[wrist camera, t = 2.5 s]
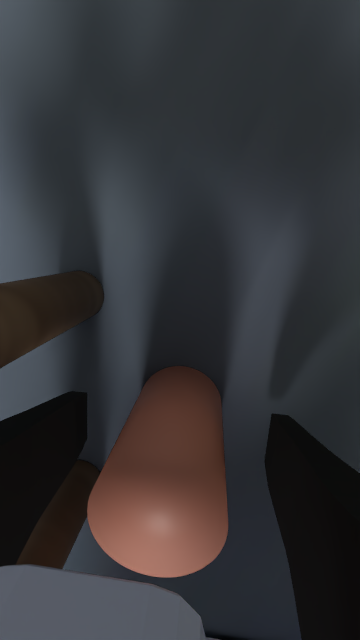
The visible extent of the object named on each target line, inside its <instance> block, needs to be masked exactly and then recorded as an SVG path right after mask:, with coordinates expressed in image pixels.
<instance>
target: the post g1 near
mask: <svg viewBox="0 0 360 640" xmlns="http://www.w3.org/2000/svg"><path fill="white" fill-rule="evenodd" d="M103 301H104V293H103V289H102V286H101V284H100V282H99V281H98V280H97V279H96V278H95V277H94V276H93V275H91V274H90V273H87V272H84V271H73V272H67V273H61V274H55V275H49V276H43V277H37V278H31V279H25V280H19V281H13V282H7V283H1V284H0V368H2V367H3V366H5V365H7V364H9V363H10V362H12V361H14V360H16V359H17V358H19V357H21V356H23V355H25V354H26V353H28V352H30V351H32V350H33V349H35V348H37V347H39V346H40V345H42V344H44V343H46V342H47V341H49V340H51V339H53V338H55V337H56V336H58V335H60V334H62V333H63V332H65V331H67V330H69V329H70V328H72V327H74V326H76V325H78V324H79V323H81V322H83V321H85V320H86V319H88V318H90V317H92V316H93V315H95V314H96V313H97V312H98V311H99V310H100V309H101V307H102V305H103Z"/></svg>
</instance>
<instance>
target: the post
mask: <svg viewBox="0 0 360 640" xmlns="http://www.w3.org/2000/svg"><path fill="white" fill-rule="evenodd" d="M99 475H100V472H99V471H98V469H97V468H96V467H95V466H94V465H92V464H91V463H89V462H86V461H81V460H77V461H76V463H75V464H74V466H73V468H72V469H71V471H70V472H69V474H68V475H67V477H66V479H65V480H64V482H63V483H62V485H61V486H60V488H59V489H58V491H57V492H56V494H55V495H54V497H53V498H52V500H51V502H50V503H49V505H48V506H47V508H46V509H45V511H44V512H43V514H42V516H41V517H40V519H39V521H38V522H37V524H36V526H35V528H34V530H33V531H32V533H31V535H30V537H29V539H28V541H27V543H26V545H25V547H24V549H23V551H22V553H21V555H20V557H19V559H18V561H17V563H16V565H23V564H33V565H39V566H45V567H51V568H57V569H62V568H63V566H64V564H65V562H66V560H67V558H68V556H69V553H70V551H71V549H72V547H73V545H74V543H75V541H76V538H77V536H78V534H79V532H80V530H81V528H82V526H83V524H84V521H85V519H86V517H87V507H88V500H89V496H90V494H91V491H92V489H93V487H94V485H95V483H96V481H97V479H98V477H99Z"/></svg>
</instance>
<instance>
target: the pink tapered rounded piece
mask: <svg viewBox="0 0 360 640" xmlns="http://www.w3.org/2000/svg"><path fill="white" fill-rule="evenodd" d="M87 515H88V522H89V526H90V529H91V531H92V534H93V536H94V538H95V539H96V541H97V542H98V544H99V545H100V547H101V548H102V549H103V550H104V551H105V552H106V553H107V554H108V555H109V556H110V557H111V558H112V559H113V560H115V561H116V562H118V563H119V564H121V565H122V566H124V567H126V568H128V569H130V570H132V571H135V572H138V573H141V574H144V575H148V576H153V577H179V576H184V575H188V574H191V573H194V572H196V571H198V570H200V569H202V568H204V567H205V566H207V565H208V564H210V563H211V562H212V561H213V560H214V559H215V558H216V557H217V555H218V554H219V553H220V551H221V550H222V548H223V546H224V544H225V541H226V538H227V534H228V510H227V492H226V474H225V457H224V439H223V421H222V404H221V397H220V394H219V391H218V389H217V387H216V386H215V384H214V383H213V382H212V380H211V379H210V378H209V377H207V376H206V375H205V374H203V373H202V372H200V371H198V370H196V369H193V368H190V367H185V366H172V367H167V368H164V369H162V370H160V371H158V372H156V373H155V374H153V375H152V376H151V377H150V378H149V379H148V380H147V382H146V383H145V385H144V387H143V389H142V391H141V393H140V395H139V397H138V399H137V401H136V403H135V405H134V407H133V409H132V411H131V413H130V415H129V417H128V419H127V421H126V423H125V425H124V427H123V429H122V431H121V433H120V435H119V437H118V439H117V441H116V443H115V445H114V447H113V449H112V451H111V453H110V455H109V457H108V459H107V461H106V463H105V465H104V467H103V469H102V471H101V473H100V475H99V477H98V479H97V481H96V483H95V485H94V487H93V489H92V491H91V494H90V496H89V500H88V507H87Z"/></svg>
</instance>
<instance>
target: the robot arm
mask: <svg viewBox="0 0 360 640" xmlns="http://www.w3.org/2000/svg"><path fill="white" fill-rule="evenodd" d="M86 440H87V393H84V392H75V391H71V392H68V393H65V394H63V395H60V396H58V397H56V398H53V399H51V400H49V401H47V402H45V403H42V404H40V405H38V406H36V407H33V408H31V409H29V410H27V411H24V412H22V413H19V414H17V415H14V416H12V417H9V418H7V419H4V420H2V421H0V640H220V639H215V638H209V637H205V633H204V628H203V624H202V620H201V616H200V615H199V614H198V613H197V612H196V611H195V610H194V609H193V608H192V607H191V606H190V605H189V604H188V603H187V602H186V601H185V600H184V599H183V598H182V597H181V596H180V595H179V594H178V593H175V592H172V591H170V590H167V589H164V588H162V587H159V586H156V585H154V584H150V583H144V582H137V581H131V580H125V579H119V578H113V577H107V576H100V575H94V574H88V573H82V572H76V571H70V570H64V569H57V568H51V567H45V566H39V565H33V564H23V565H16V563H17V561H18V559H19V557H20V555H21V553H22V551H23V549H24V547H25V545H26V543H27V541H28V539H29V537H30V535H31V533H32V531H33V530H34V528H35V526H36V524H37V522H38V521H39V519H40V517H41V516H42V514H43V512H44V511H45V509H46V508H47V506H48V505H49V503H50V502H51V500H52V498H53V497H54V495H55V494H56V492H57V491H58V489H59V488H60V486H61V485H62V483H63V482H64V480H65V479H66V477H67V475H68V474H69V472H70V471H71V469H72V468H73V466H74V464H75V463H76V461H77V459H78V457H79V455H80V453H81V451H82V449H83V446H84V444H85V442H86ZM265 468H266V475H267V482H268V488H269V491H270V495H271V499H272V503H273V506H274V510H275V514H276V517H277V521H278V524H279V528H280V532H281V535H282V539H283V542H284V546H285V550H286V554H287V558H288V562H289V568H290V573H291V579H292V584H293V590H294V596H295V601H296V608H297V614H298V620H299V626H300V632H301V638H302V640H360V473H358V472H357V471H356V470H354V469H353V468H351V467H350V466H349V465H347V464H346V463H345V462H343V461H342V460H341V459H339V458H338V457H337V456H336V455H334V454H333V453H332V452H331V451H329V450H328V449H327V448H326V447H324V446H323V445H322V444H321V443H320V442H319V441H317V440H316V439H315V438H314V437H313V436H312V435H311V434H309V433H308V432H307V431H306V430H305V429H304V428H303V427H302V426H300V425H299V424H298V423H297V422H296V421H295V420H294V419H292V418H291V417H290V416H288V415H280V414H272V415H271V422H270V428H269V435H268V441H267V448H266V454H265Z"/></svg>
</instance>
